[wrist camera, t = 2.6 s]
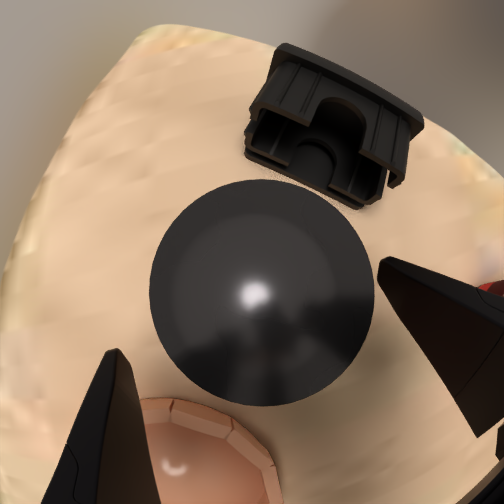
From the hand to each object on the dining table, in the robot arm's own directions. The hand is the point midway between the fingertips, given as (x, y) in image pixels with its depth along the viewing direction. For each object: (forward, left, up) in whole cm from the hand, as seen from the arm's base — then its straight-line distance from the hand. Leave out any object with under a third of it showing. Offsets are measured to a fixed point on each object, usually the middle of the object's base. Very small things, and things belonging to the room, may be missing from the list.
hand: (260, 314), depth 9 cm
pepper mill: (0, 0, -8) cm, 8 cm away
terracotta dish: (-11, +6, -8) cm, 15 cm away
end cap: (+10, -8, -9) cm, 16 cm away
